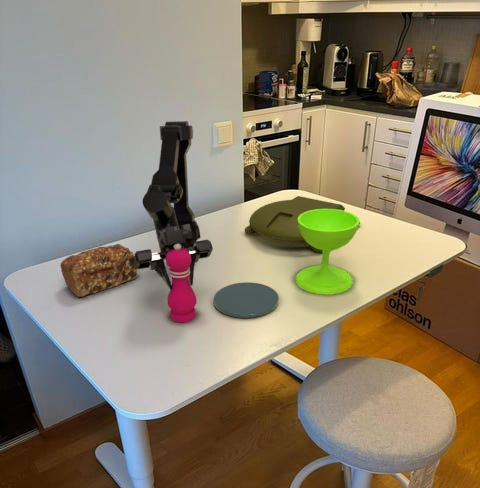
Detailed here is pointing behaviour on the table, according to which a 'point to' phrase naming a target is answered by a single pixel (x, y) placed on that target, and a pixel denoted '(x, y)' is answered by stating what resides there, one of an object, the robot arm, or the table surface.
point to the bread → (98, 269)
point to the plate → (246, 300)
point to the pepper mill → (180, 285)
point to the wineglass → (326, 248)
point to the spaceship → (285, 218)
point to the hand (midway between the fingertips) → (181, 287)
